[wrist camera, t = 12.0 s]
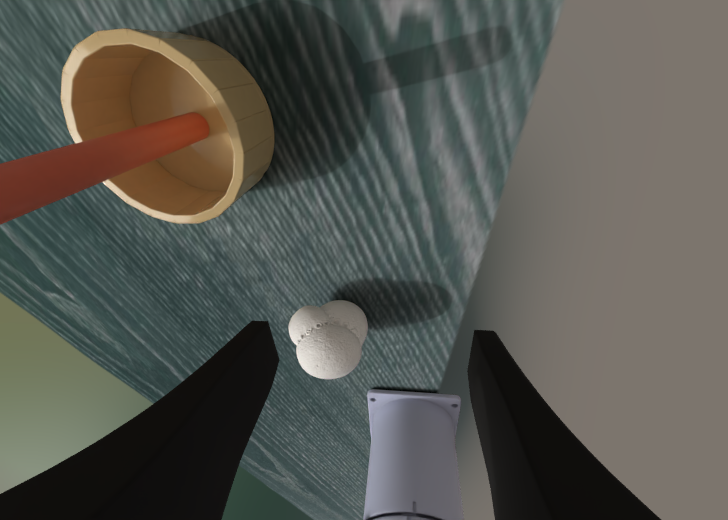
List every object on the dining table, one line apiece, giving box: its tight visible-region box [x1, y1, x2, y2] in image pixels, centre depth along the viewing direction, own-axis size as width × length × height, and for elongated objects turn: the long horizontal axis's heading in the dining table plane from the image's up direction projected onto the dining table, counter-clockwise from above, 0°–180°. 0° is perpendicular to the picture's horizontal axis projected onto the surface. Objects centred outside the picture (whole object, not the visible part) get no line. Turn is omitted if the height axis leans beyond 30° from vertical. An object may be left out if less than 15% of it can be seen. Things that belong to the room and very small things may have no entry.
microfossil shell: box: [288, 300, 368, 379], centre depth 22 cm, size 4×5×6 cm
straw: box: [0, 112, 209, 224], centre depth 13 cm, size 1×1×11 cm
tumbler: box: [61, 28, 275, 223], centre depth 16 cm, size 8×8×4 cm
